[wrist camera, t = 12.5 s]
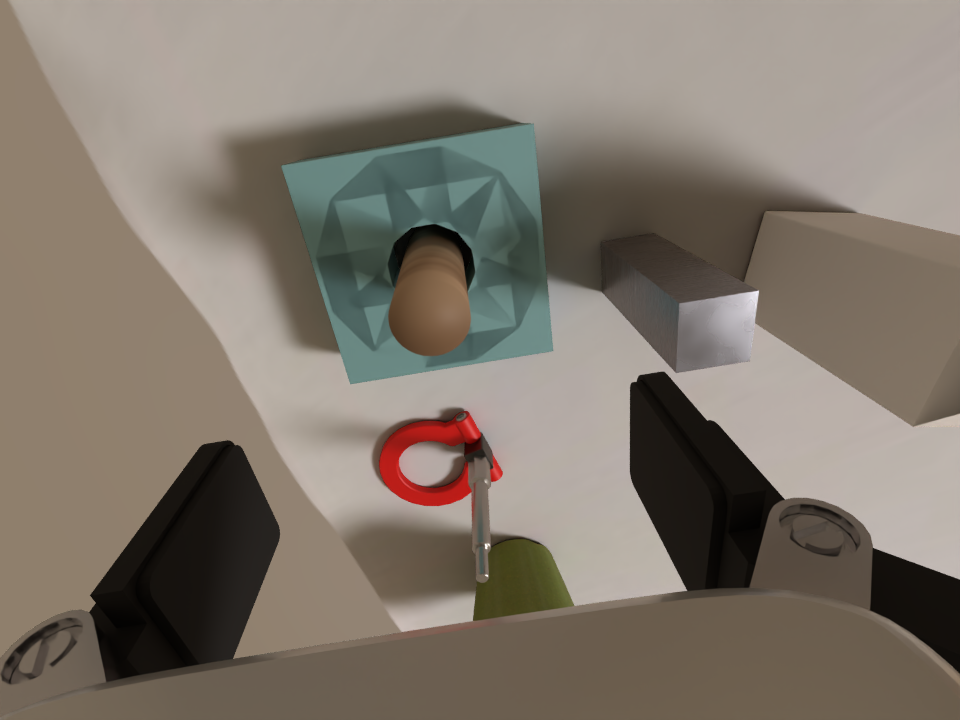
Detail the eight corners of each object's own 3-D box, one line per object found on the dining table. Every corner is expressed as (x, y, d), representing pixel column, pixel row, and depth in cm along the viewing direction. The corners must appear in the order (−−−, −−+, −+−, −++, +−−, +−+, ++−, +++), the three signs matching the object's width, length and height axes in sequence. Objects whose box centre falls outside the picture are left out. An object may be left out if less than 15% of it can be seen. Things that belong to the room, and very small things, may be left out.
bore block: (301, 159, 28) (281, 165, 25) (522, 123, 28) (533, 123, 25) (360, 356, 35) (350, 384, 31) (541, 327, 34) (553, 351, 31)
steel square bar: (600, 241, 32) (679, 303, 21) (653, 233, 32) (759, 290, 21) (602, 292, 34) (676, 373, 23) (652, 284, 34) (749, 361, 23)
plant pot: (427, 565, 45) (423, 693, 35) (525, 498, 42) (551, 617, 32) (506, 620, 49) (522, 748, 39) (599, 564, 46) (643, 686, 36)
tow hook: (411, 508, 42) (507, 473, 41) (390, 657, 31) (522, 616, 29) (362, 440, 39) (465, 398, 37) (317, 578, 27) (463, 527, 25)
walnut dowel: (401, 228, 31) (379, 287, 20) (456, 219, 31) (463, 273, 20) (413, 281, 32) (398, 361, 22) (465, 272, 32) (476, 349, 22)
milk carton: (824, 310, 35) (1170, 485, 19) (733, 310, 35) (1004, 489, 18) (861, 212, 32) (1322, 315, 15) (762, 210, 32) (1126, 313, 15)
